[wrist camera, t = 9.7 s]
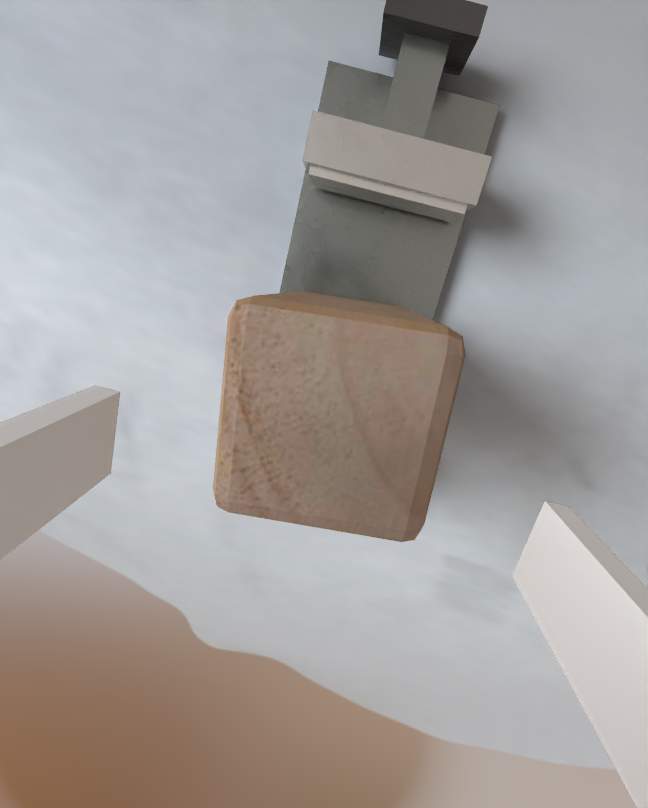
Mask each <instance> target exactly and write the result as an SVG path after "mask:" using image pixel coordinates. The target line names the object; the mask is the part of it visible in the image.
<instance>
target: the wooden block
mask: <svg viewBox="0 0 648 808" xmlns="http://www.w3.org/2000/svg"><path fill="white" fill-rule="evenodd" d="M464 358H465V349H464V343H463V337H462V336H461V335H460V334H458V333H456V332H455V331H453V330H452V329H450V328H448V327H447V326H445V325H442V324H440V323H438V322H435V321H433V320H431V319H428V318H426V317H424V316H421V315H419V314H417V313H414V312H412V311H410V310H407V309H405V308H403V307H400V306H394V305H388V304H382V303H375V302H369V301H363V300H356V299H350V298H344V297H337V296H331V295H325V294H318V293H312V292H306V291H299V292H289V293H279V294H269V295H259V296H252V297H248V298H244V299H241V300H237V301H236V303H235V305H234V307H233V309H232V311H231V312H230V314H229V316H228V326H227V338H226V349H225V360H224V372H223V383H222V394H221V405H220V417H219V428H218V439H217V450H216V462H215V473H214V484H213V490H214V495H215V499H216V503H217V506H218V507H220V508H222V509H223V510H225V511H227V512H230V513H236V514H242V515H248V516H253V517H259V518H265V519H271V520H277V521H283V522H289V523H294V524H300V525H306V526H312V527H318V528H324V529H330V530H335V531H341V532H347V533H353V534H359V535H365V536H371V537H376V538H382V539H388V540H394V541H400V542H403V541H410V540H415V538H416V537H417V535H418V534H419V532H420V530H421V529H422V527H423V525H424V523H425V519H426V514H427V510H428V506H429V502H430V498H431V494H432V490H433V486H434V481H435V477H436V473H437V469H438V465H439V461H440V457H441V453H442V449H443V444H444V440H445V436H446V432H447V428H448V424H449V420H450V416H451V412H452V407H453V403H454V399H455V395H456V391H457V387H458V383H459V379H460V375H461V370H462V366H463V362H464Z"/></svg>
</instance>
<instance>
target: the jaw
mask: <svg viewBox="0 0 648 808" xmlns="http://www.w3.org/2000/svg"><path fill="white" fill-rule="evenodd" d="M487 8H488V6H485V5H481V4H477V3H474V2H470V1H466V0H386V5H385V9H384V14H383V23H382V32H381V41H380V50H379V55H381V56H385V57H389V58H393V59H396V60H398V61H397V65H396V69H395V73H394V77H393V81H392V85H391V89H390V93H389V97H388V101H387V105H386V109H385V113H384V117H383V121H382V125H381V128H380V127H376V126H372V125H368V124H365V123H361V122H357V121H353V120H349V119H345V118H341V117H338V116H334V115H330V114H326V113H322V112H318V111H314V110H313V112H312V117H311V122H310V127H309V132H308V136H307V141H306V146H305V151H304V156H303V163H304V165H305V168H306V170H307V173H308V175H309V178H310V179H311V182H312V184H313V187H316V188H320V189H324V190H327V191H331V192H335V193H339V194H343V195H347V196H351V197H354V198H358V199H362V200H366V201H370V202H374V203H378V204H381V205H385V206H389V207H393V208H397V209H401V210H405V211H409V212H412V213H416V214H420V215H424V216H428V217H432V218H436V219H439V220H443V221H447V222H451V223H452V222H453V221H455V220H457V219H458V218H460V217H461V216H463V215H464V214H465V213H466V212H468V211H469V210H471V209H472V208H474V207H475V206H477V203H478V200H479V197H480V194H481V190H482V187H483V184H484V181H485V178H486V175H487V172H488V168H489V165H490V162H491V159H492V156H488V155H484V154H480V153H476V152H473V151H469V150H465V149H461V148H457V147H453V146H449V145H446V144H442V143H438V142H434V141H430V140H426V139H424V136H425V132H426V129H427V125H428V121H429V118H430V114H431V110H432V107H433V103H434V100H435V96H436V92H437V89H438V85H439V81H440V78H441V74H442V71H443V72H446V73H450V74H454V75H458V76H460V74H461V72H462V70H463V68H464V66H465V64H466V62H467V60H468V58H469V56H470V54H471V52H472V50H473V48H474V46H475V44H476V42H477V40H478V38H479V35H480V32H481V28H482V25H483V21H484V18H485V14H486V11H487Z"/></svg>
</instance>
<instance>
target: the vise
mask: <svg viewBox="0 0 648 808" xmlns="http://www.w3.org/2000/svg"><path fill="white" fill-rule="evenodd" d="M392 81H393V77H389V76H386V75H382V74H378V73H374V72H370V71H366V70H362V69H359V68H355V67H351V66H347V65H343V64H339V63H335V62H332V61H329V62H328V67H327V72H326V76H325V81H324V86H323V91H322V95H321V100H320V105H319V109H318V112H322V113H326V114H330V115H334V116H338V117H341V118H345V119H349V120H353V121H357V122H361V123H365V124H368V125H372V126H376V127H380V128H381V125H382V121H383V117H384V113H385V109H386V105H387V101H388V97H389V93H390V89H391V85H392ZM499 107H500V105H497V104H493V103H489V102H486V101H482V100H478V99H474V98H470V97H466V96H463V95H459V94H455V93H451V92H447V91H443V90H439V89H437V92H436V96H435V100H434V103H433V107H432V110H431V114H430V118H429V121H428V125H427V129H426V132H425V136H424V139H426V140H430V141H434V142H438V143H442V144H446V145H449V146H453V147H457V148H461V149H465V150H469V151H473V152H476V153H480V154H484V155H485V151H486V148H487V145H488V142H489V139H490V136H491V132H492V129H493V126H494V123H495V120H496V116H497V113H498V110H499ZM465 215H466V213H465V214H464V215H463V216H461V217H460V218H458V219H457V220H455V221H453V222H452V223H451V222H447V221H443V220H439V219H436V218H432V217H428V216H424V215H420V214H416V213H412V212H409V211H405V210H401V209H397V208H393V207H389V206H385V205H381V204H378V203H374V202H370V201H366V200H362V199H358V198H354V197H351V196H347V195H343V194H339V193H335V192H331V191H327V190H324V189H320V188H316V187H313V184H312V182H311V179H310V178H309V175H308V173H307V170H306V171H305V175H304V180H303V185H302V190H301V194H300V199H299V204H298V208H297V213H296V218H295V223H294V227H293V232H292V237H291V241H290V246H289V251H288V255H287V260H286V265H285V270H284V274H283V279H282V284H281V288H280V293H289V292H299V291H306V292H312V293H318V294H325V295H331V296H337V297H344V298H350V299H356V300H363V301H369V302H375V303H382V304H388V305H394V306H400V307H403V308H405V309H407V310H410V311H412V312H414V313H417V314H419V315H421V316H424V317H426V318H428V319H431V320H433V317H434V314H435V311H436V307H437V304H438V301H439V298H440V295H441V291H442V288H443V285H444V282H445V279H446V276H447V272H448V269H449V266H450V263H451V260H452V256H453V253H454V250H455V247H456V244H457V241H458V237H459V234H460V231H461V228H462V225H463V221H464V218H465Z"/></svg>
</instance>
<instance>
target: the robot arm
mask: <svg viewBox="0 0 648 808" xmlns="http://www.w3.org/2000/svg"><path fill="white" fill-rule="evenodd" d="M119 398H120V392H119V391H115V390H112V389H108V388H104V387H100V386H96V385H95V386H92V387H90V388H87V389H85V390H82V391H80V392H77V393H75V394H72V395H69V396H67V397H64V398H62V399H59V400H57V401H54V402H52V403H49V404H47V405H44V406H42V407H39V408H36V409H34V410H31V411H29V412H26V413H24V414H21V415H19V416H16V417H14V418H11V419H9V420H6V421H3V422H1V423H0V560H1V559H2V558H3V557H5V556H6V555H7V554H8V553H10V552H11V551H12V550H13V549H15V548H16V547H17V546H19V544H21V543H22V542H24V541H25V540H26V539H28V538H29V537H30V536H31V535H33V534H34V533H35V532H36V531H38V530H39V529H40V528H42V527H43V526H44V525H45V524H47V523H48V522H49V521H51V520H52V519H53V518H54V517H56V516H57V515H58V514H59V513H61V512H62V511H63V510H65V509H66V508H67V507H68V506H70V505H71V504H72V503H74V502H75V501H76V500H77V499H79V498H80V497H81V496H82V495H84V494H85V493H86V492H88V491H89V490H90V489H91V488H93V487H94V486H95V485H97V484H98V483H99V482H100V481H102V480H103V479H104V478H106V477H107V476H108V475H109V474H111V466H112V458H113V449H114V441H115V432H116V423H117V415H118V406H119ZM512 578H513V580H514V581H515V583H516V585H517V587H518V589H519V591H520V593H521V594H522V596H523V598H524V600H525V602H526V604H527V605H528V607H529V609H530V611H531V613H532V615H533V617H534V618H535V620H536V622H537V624H538V626H539V628H540V629H541V631H542V633H543V635H544V637H545V639H546V641H547V642H548V644H549V646H550V648H551V650H552V652H553V653H554V655H555V657H556V659H557V661H558V663H559V665H560V666H561V668H562V670H563V672H564V674H565V676H566V677H567V679H568V681H569V683H570V685H571V687H572V689H573V690H574V692H575V694H576V696H577V698H578V700H579V702H580V703H581V705H582V707H583V709H584V711H585V713H586V714H587V716H588V718H589V720H590V722H591V724H592V726H593V727H594V729H595V731H596V733H597V735H598V737H599V738H600V740H601V742H602V744H603V746H604V748H605V750H606V751H607V753H608V755H609V757H610V759H611V761H612V762H613V764H614V766H615V768H616V770H617V772H618V773H619V775H620V777H621V779H622V781H623V783H624V785H625V786H626V788H627V790H628V792H629V794H630V796H631V797H632V799H633V801H634V803H635V805H636V806H637V808H648V588H647V587H646V586H645V585H644V584H643V583H642V582H641V581H640V579H639V578H638V577H637V576H636V575H635V574H634V573H633V572H632V571H631V570H630V569H629V568H628V567H627V566H626V565H625V564H624V563H623V562H622V561H621V560H620V559H619V558H618V557H617V556H616V555H615V554H614V553H613V552H612V551H611V549H610V548H609V547H608V546H607V545H606V544H605V543H604V542H603V541H602V540H601V539H600V538H599V537H598V536H597V535H596V534H595V533H594V532H593V531H592V530H591V529H590V528H589V527H588V526H587V525H586V524H585V523H584V522H583V521H582V520H581V518H580V517H579V516H578V515H577V514H576V513H575V512H574V511H573V510H572V509H571V508H570V507H567V506H563V505H559V504H555V503H551V502H547V501H545V502H544V504H543V506H542V508H541V511H540V513H539V515H538V518H537V520H536V522H535V524H534V527H533V529H532V531H531V533H530V536H529V538H528V540H527V542H526V545H525V547H524V549H523V552H522V554H521V556H520V558H519V561H518V563H517V565H516V567H515V570H514V572H513V574H512Z"/></svg>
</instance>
